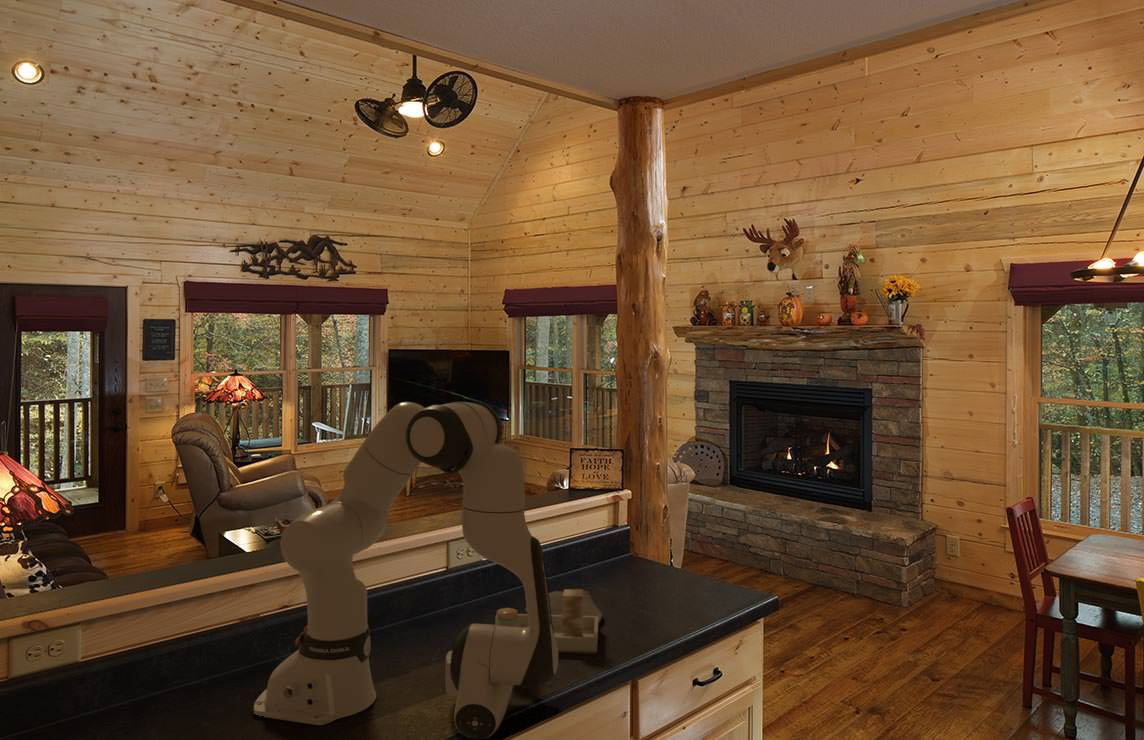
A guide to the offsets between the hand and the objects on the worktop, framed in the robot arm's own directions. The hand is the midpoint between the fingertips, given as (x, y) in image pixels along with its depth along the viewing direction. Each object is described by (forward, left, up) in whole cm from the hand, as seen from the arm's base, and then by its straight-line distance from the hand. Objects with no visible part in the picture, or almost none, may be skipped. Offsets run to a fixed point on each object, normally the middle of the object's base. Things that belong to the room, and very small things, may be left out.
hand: (502, 649), depth 156 cm
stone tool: (+12, +39, -7) cm, 41 cm away
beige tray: (+7, +21, -7) cm, 24 cm away
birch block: (+13, +21, -6) cm, 26 cm away
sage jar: (0, +7, -7) cm, 9 cm away
